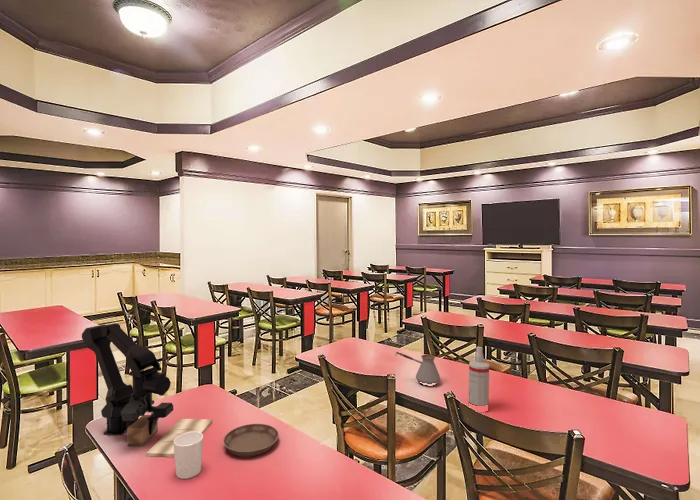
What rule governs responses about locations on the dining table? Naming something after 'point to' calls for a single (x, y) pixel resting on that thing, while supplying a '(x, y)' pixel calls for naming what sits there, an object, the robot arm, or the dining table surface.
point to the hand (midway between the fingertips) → (143, 434)
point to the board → (182, 426)
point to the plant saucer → (250, 439)
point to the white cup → (188, 454)
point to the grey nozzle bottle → (479, 380)
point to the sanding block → (140, 432)
